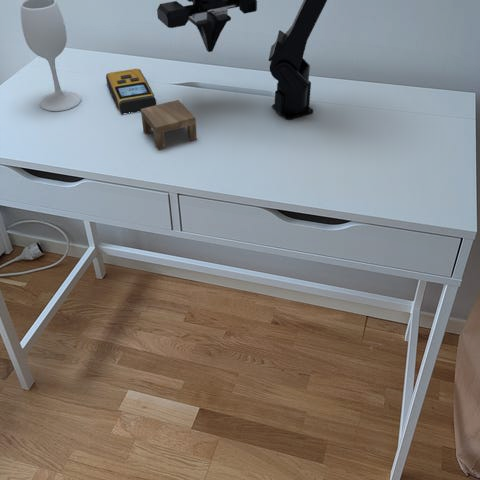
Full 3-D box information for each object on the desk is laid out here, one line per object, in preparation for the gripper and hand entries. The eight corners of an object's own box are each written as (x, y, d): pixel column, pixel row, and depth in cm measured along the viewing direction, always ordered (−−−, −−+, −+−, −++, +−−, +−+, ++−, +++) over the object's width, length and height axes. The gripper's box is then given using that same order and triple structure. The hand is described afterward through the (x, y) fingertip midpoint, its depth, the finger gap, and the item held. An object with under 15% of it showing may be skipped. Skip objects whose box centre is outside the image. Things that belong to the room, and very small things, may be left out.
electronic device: (141, 79, 136) (140, 65, 134) (158, 110, 125) (157, 95, 123) (105, 85, 134) (103, 71, 132) (119, 116, 123) (117, 101, 121)
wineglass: (87, 94, 129) (69, -3, 115) (69, 113, 123) (47, 12, 109) (52, 90, 131) (29, -7, 117) (32, 109, 125) (6, 8, 111)
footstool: (178, 99, 117) (140, 109, 114) (195, 117, 112) (156, 127, 109) (180, 121, 120) (143, 131, 118) (196, 139, 115) (158, 150, 112)
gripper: (231, -50, 116) (232, 28, 126) (142, -36, 109) (151, 45, 120) (259, -35, 109) (257, 47, 119) (165, -19, 102) (172, 66, 112)
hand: (209, 51), depth 118 cm, fingers closed
